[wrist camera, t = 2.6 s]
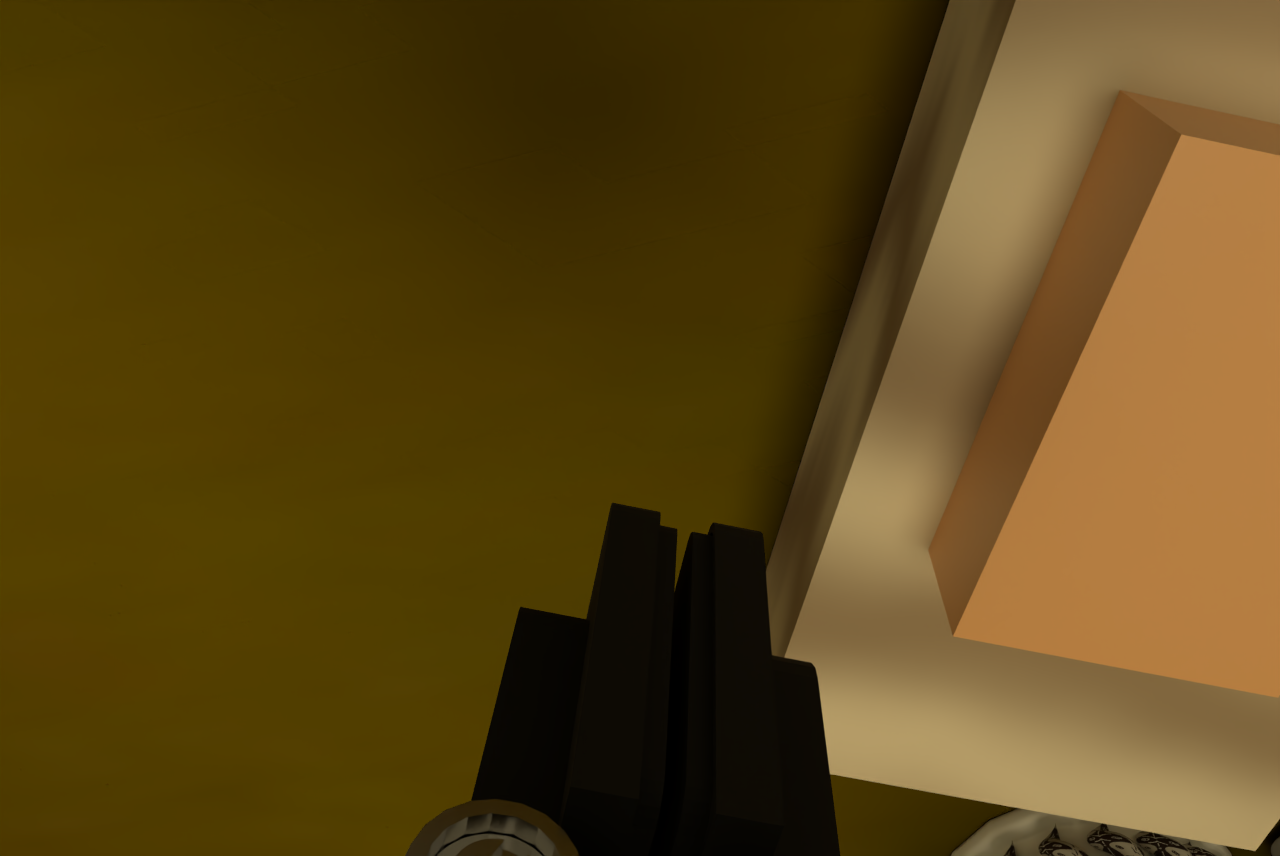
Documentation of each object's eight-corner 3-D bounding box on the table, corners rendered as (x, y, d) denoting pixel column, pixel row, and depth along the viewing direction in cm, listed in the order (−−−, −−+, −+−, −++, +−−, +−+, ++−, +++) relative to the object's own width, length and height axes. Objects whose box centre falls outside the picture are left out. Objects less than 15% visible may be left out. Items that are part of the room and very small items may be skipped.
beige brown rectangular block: (1085, -423, 16) (1184, -481, 13) (1812, -249, 17) (2089, -260, 14) (744, 639, 28) (748, 759, 24) (1189, 722, 28) (1255, 851, 25)
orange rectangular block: (1120, 90, 16) (1181, 134, 14) (1489, 169, 17) (1604, 225, 15) (928, 549, 21) (952, 636, 19) (1220, 606, 21) (1278, 697, 19)
